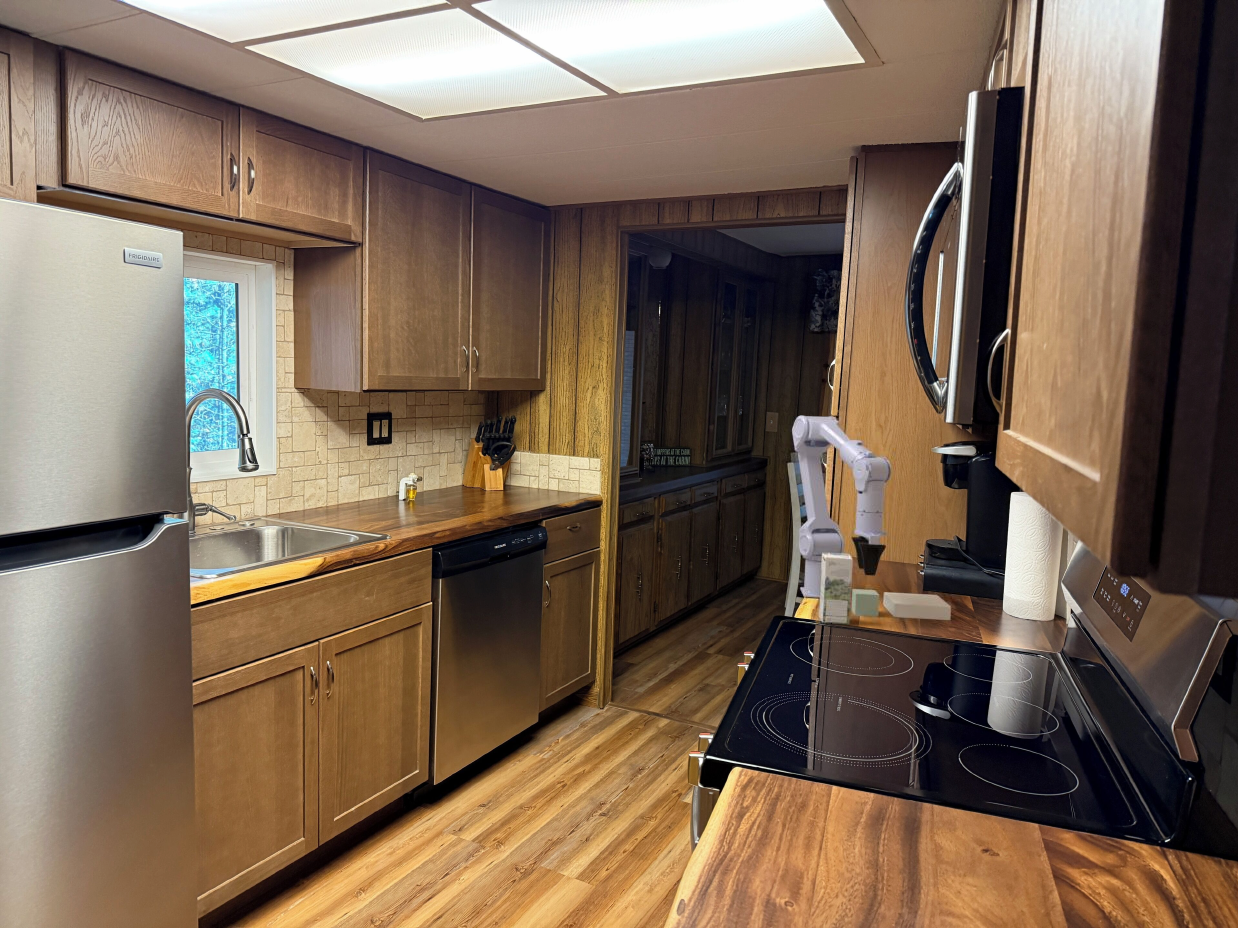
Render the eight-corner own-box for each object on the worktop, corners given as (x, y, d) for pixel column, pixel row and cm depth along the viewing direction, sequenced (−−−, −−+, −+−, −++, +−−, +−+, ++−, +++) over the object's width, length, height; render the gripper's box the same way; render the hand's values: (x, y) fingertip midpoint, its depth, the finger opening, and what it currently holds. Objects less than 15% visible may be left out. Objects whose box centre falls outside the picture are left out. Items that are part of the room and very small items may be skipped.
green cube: (851, 610, 194) (852, 588, 193) (873, 611, 193) (875, 590, 193) (854, 615, 189) (856, 593, 188) (878, 617, 188) (879, 594, 188)
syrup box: (845, 618, 185) (848, 552, 184) (849, 625, 180) (853, 557, 179) (818, 617, 186) (821, 551, 185) (822, 623, 180) (825, 556, 179)
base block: (883, 604, 200) (883, 592, 200) (936, 607, 199) (936, 594, 199) (894, 616, 188) (894, 603, 188) (950, 620, 187) (951, 606, 187)
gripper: (895, 516, 182) (891, 579, 182) (881, 508, 196) (878, 566, 197) (861, 514, 182) (858, 577, 183) (850, 507, 197) (847, 565, 198)
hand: (866, 571), depth 190 cm, fingers open, 7 cm apart
